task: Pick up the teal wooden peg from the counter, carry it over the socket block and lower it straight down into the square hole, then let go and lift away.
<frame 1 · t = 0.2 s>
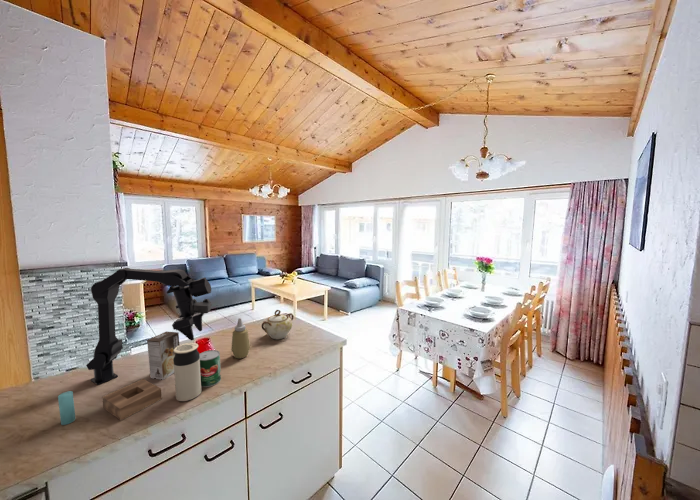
hand: (196, 335, 114), 15 cm above the worktop, tool pointing down, fingers open, 9 cm apart
peg: (68, 421, 86), on the worktop
sugar bowl: (278, 336, 150), on the worktop
coffee box: (166, 373, 113), on the worktop
canned tomato: (210, 381, 108), on the worktop
squeeze bottle: (241, 356, 128), on the worktop
travel mug: (188, 395, 99), on the worktop
socket block: (133, 403, 95), on the worktop
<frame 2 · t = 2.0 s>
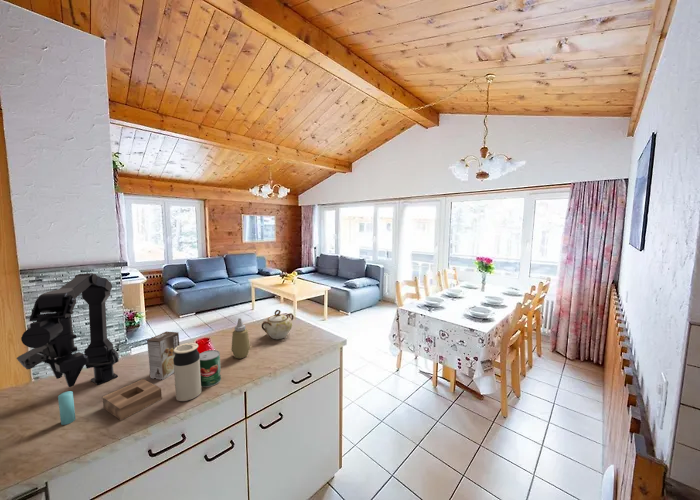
hand: (64, 382, 85), 13 cm above the worktop, tool pointing down, fingers open, 9 cm apart
nothing on the worktop moved.
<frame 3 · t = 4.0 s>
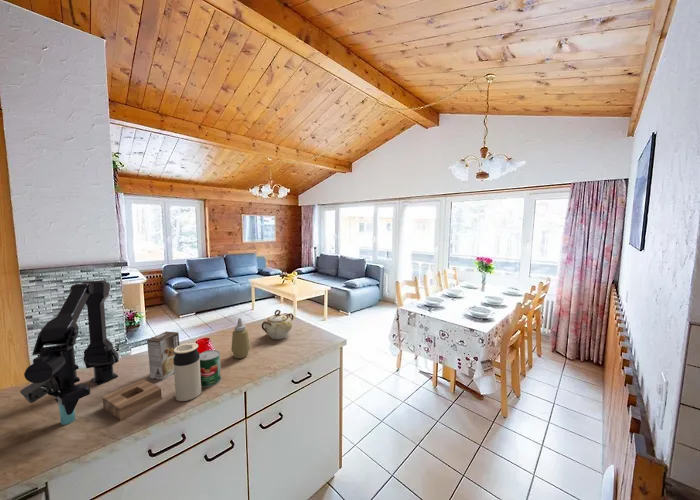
hand: (67, 412, 86), 3 cm above the worktop, tool pointing down, fingers closed on peg, 3 cm apart
peg: (68, 421, 86), on the worktop, touching gripper
everything else where it was.
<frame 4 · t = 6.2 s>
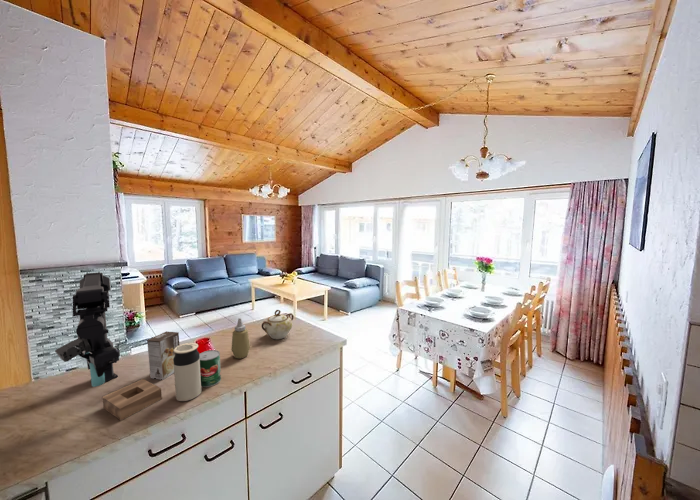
hand: (97, 374, 89), 13 cm above the worktop, tool pointing down, fingers closed on peg, 3 cm apart
peg: (98, 383, 89), point 10 cm above the worktop, touching gripper
everything else where it was.
when the fingers open (4 cm above the worktop, at t = 8.7 s): peg drops 1 cm, resting in socket block.
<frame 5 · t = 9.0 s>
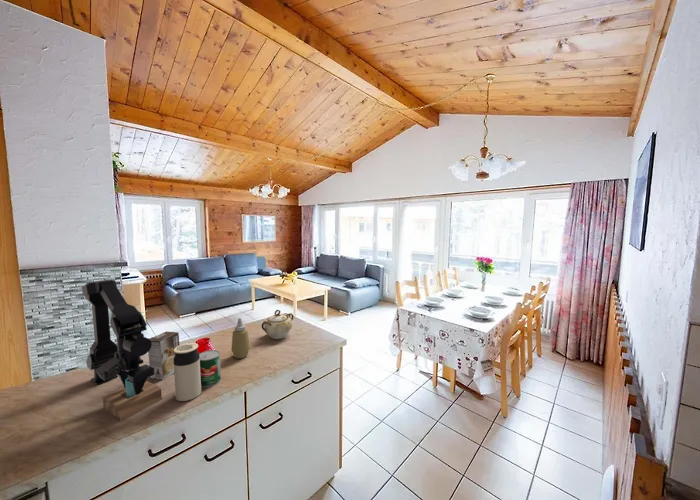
hand: (132, 391, 94), 4 cm above the worktop, tool pointing down, fingers open, 7 cm apart
peg: (133, 403, 94), resting in socket block
everything else where it was.
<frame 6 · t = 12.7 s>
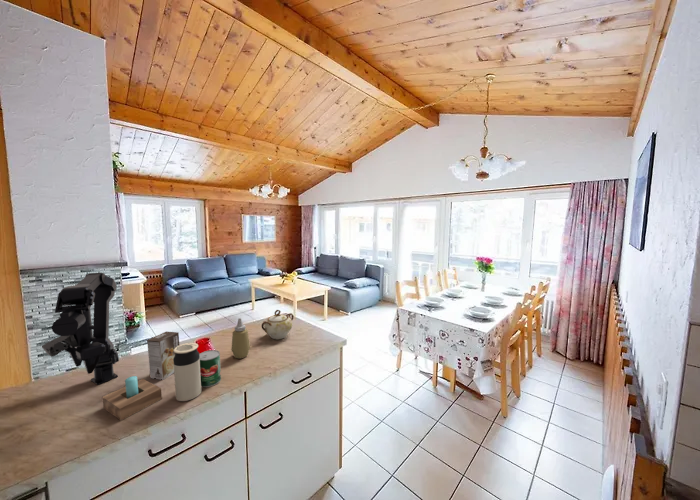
hand: (84, 369, 92), 13 cm above the worktop, tool pointing down, fingers open, 9 cm apart
nothing on the worktop moved.
at the end: peg 0.1 cm off-centre on the socket block, point 0.0 cm above the socket block's base; peg tilted 0°; the gripper is holding nothing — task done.
